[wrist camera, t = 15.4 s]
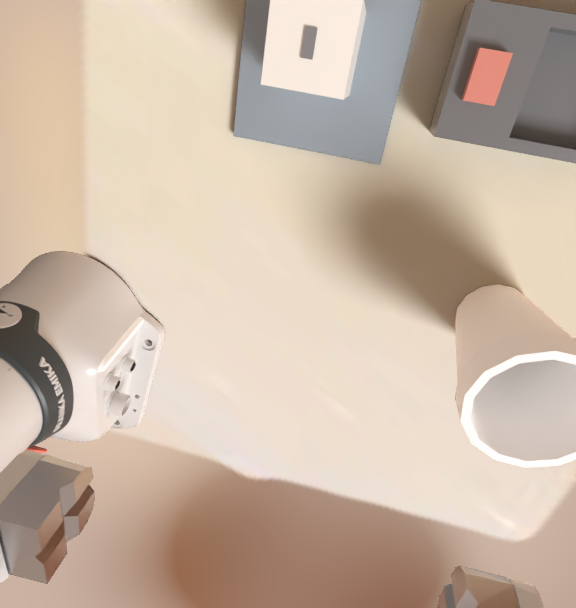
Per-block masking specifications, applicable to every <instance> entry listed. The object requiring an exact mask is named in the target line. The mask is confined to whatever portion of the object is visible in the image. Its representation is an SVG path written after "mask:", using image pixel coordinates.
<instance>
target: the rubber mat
mask: <svg viewBox="0 0 576 608" xmlns="http://www.w3.org/2000/svg"><path fill="white" fill-rule="evenodd" d="M364 2H365V8H366V17H365V22H364V27H363V32H362V37H361V42H360V47H359V52H358V57H357V61H356V66H355V71H354V76H353V81H352V86H351V91H350V95H349V96H348V97H347V98H345V99H344V100H342V99H337V98H331V97H326V96H320V95H315V94H310V93H304V92H299V91H293V90H288V89H283V88H277V87H272V86H266V85H261V77H262V68H263V59H264V51H265V42H266V33H267V24H268V15H269V7H270V0H246V5H245V16H244V27H243V38H242V48H241V59H240V70H239V81H238V92H237V103H236V114H235V125H234V136H236V137H242V138H247V139H252V140H257V141H262V142H267V143H272V144H277V145H282V146H287V147H293V148H298V149H303V150H308V151H313V152H318V153H323V154H328V155H333V156H338V157H343V158H349V159H354V160H359V161H364V162H369V163H374V164H379V165H380V163H381V159H382V155H383V151H384V147H385V143H386V139H387V135H388V131H389V127H390V123H391V119H392V115H393V111H394V107H395V103H396V99H397V95H398V91H399V87H400V83H401V79H402V75H403V71H404V67H405V63H406V59H407V55H408V51H409V47H410V43H411V39H412V36H413V32H414V28H415V24H416V20H417V16H418V12H419V8H420V4H421V0H364Z"/></svg>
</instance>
